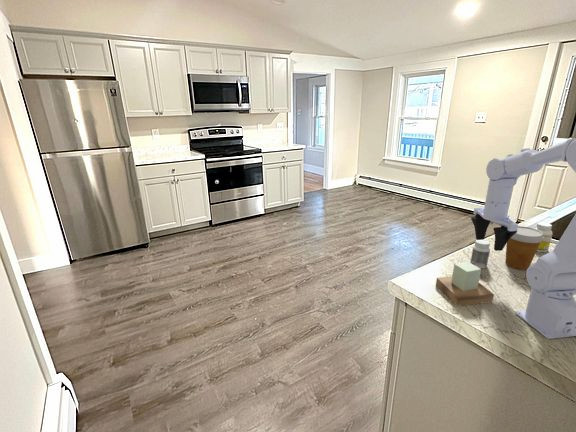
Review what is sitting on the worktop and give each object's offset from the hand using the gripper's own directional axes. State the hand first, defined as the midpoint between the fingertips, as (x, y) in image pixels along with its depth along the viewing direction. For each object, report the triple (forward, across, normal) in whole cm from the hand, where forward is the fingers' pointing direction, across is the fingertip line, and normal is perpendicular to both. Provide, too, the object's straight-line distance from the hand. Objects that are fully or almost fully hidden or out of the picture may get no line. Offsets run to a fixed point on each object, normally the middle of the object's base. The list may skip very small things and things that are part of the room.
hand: (488, 244), depth 91 cm
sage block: (+8, -8, +12) cm, 16 cm away
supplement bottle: (+11, +13, -31) cm, 35 cm away
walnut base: (+10, -8, +12) cm, 18 cm away
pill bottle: (+11, +6, -3) cm, 13 cm away
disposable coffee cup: (+11, +4, -15) cm, 19 cm away
